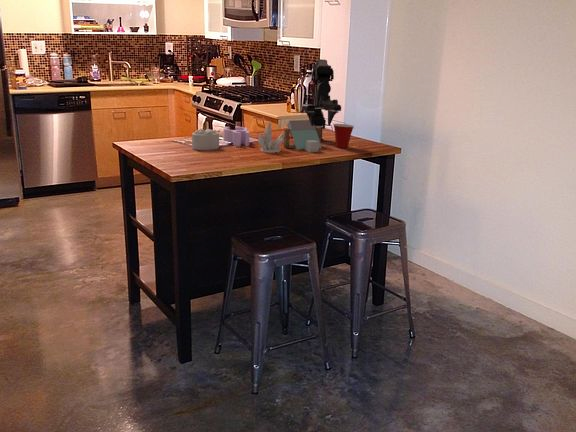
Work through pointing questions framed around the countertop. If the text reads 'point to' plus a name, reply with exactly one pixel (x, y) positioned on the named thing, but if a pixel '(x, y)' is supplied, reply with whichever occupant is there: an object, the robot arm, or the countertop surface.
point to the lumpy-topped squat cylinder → (205, 139)
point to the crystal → (269, 141)
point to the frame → (287, 145)
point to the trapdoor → (302, 132)
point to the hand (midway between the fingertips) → (320, 125)
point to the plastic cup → (342, 135)
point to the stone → (311, 146)
